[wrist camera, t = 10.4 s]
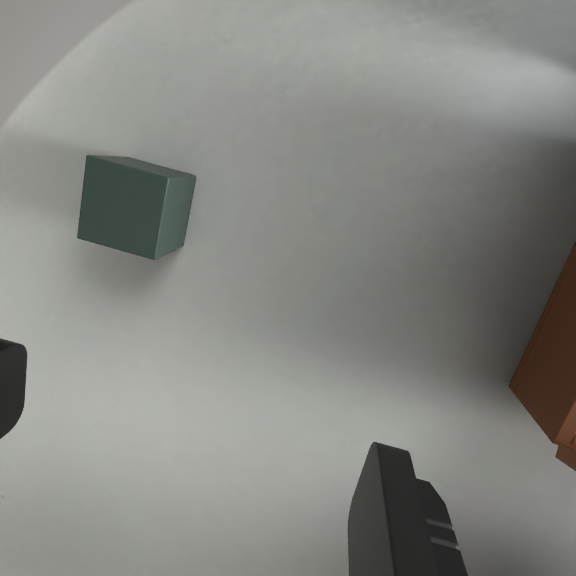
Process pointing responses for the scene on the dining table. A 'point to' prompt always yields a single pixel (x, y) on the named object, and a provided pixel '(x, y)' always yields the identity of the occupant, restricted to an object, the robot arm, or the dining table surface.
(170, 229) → the block
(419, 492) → the robot arm
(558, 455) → the case lid
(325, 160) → the dining table surface
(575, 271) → the case
